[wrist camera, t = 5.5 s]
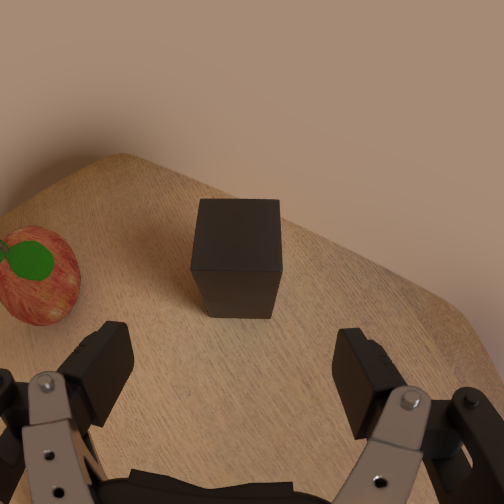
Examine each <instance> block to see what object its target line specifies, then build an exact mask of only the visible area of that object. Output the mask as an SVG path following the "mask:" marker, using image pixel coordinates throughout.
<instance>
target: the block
mask: <svg viewBox="0 0 504 504" xmlns="http://www.w3.org/2000/svg"><path fill="white" fill-rule="evenodd" d="M190 270H191V272H192V275H193V277H194V280H195V282H196V285H197V287H198V290H199V292H200V294H201V297H202V299H203V302H204V304H205V306H206V309H207V311H208V313H209V316H210V317H213V318H247V319H271V316H272V312H273V308H274V304H275V300H276V296H277V292H278V288H279V284H280V280H281V276H282V272H283V264H282V241H281V220H280V202H279V200H275V199H200V202H199V209H198V216H197V222H196V229H195V237H194V244H193V252H192V259H191V268H190Z"/></svg>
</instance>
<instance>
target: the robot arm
mask: <svg viewBox="0 0 504 504" xmlns="http://www.w3.org/2000/svg"><path fill="white" fill-rule="evenodd" d="M133 367H134V354H133V349H132V345H131V340H130V335H129V331H128V327H127V324H126V323H124V322H116V321H106V322H105V323H104V324H103V325H102V327H101V328H100V329H99V330H98V331H95V332H93V333H92V334H90V335H88V336H87V337H85V338H84V339H83V340H82V342H81V343H80V344H79V346H77V347H76V348H75V350H74V352H72V353H71V354H70V355H69V357H68V358H67V359H66V360H65V361H64V362H63V364H62V365H61V366H60V367H59V368H58V370H57V371H56V372H55V371H45V372H41V373H39V374H37V375H35V376H34V377H33V378H32V379H31V380H30V382H29V383H24V382H15V380H14V378H13V376H12V374H11V372H10V371H9V370H7V369H0V416H1V418H2V420H3V421H4V423H5V424H6V426H7V427H6V429H5V430H4V432H3V433H2V435H1V436H0V504H9V502H10V500H11V498H12V495H13V493H14V491H15V489H16V487H17V484H18V482H19V480H20V478H21V476H22V474H23V472H24V470H25V468H26V471H27V477H28V483H29V488H30V493H31V498H32V502H33V504H406V502H407V500H408V497H409V495H410V492H411V490H412V487H413V484H414V482H415V479H416V476H417V473H418V470H419V467H420V464H421V461H422V460H423V462H424V465H425V467H426V470H427V472H428V475H429V477H430V480H431V482H432V485H433V488H434V490H435V493H436V496H437V498H438V501H439V504H504V421H503V419H502V418H501V416H500V415H499V414H498V412H497V411H496V409H495V408H494V407H493V405H492V404H491V403H490V401H489V400H488V399H487V397H486V396H485V395H484V394H483V393H482V392H481V391H479V390H477V389H475V388H472V387H462V388H459V389H458V390H456V391H455V393H454V395H453V397H452V399H451V400H431V399H430V397H429V395H428V394H427V393H426V392H425V391H423V390H422V389H420V388H418V387H414V386H408V385H407V384H406V382H405V381H404V379H403V377H402V376H401V374H400V373H399V371H398V370H397V368H396V367H395V365H394V364H393V363H392V361H391V359H390V358H389V356H387V353H386V352H385V350H384V349H383V347H382V346H381V345H379V344H378V343H376V342H375V341H374V340H367V339H366V337H365V335H364V334H363V332H362V331H361V329H360V328H345V329H339V331H338V334H337V340H336V345H335V351H334V356H333V361H332V376H333V379H334V382H335V385H336V387H337V390H338V393H339V396H340V399H341V401H342V404H343V407H344V410H345V413H346V416H347V418H348V421H349V424H350V427H351V430H352V433H353V436H354V439H355V440H358V439H364V438H366V439H367V444H366V446H365V448H364V450H363V452H362V453H361V455H360V457H359V459H358V461H357V462H356V464H355V466H354V468H353V469H352V471H351V473H350V475H349V476H348V478H347V480H346V481H345V483H344V484H343V486H342V488H341V489H340V491H339V492H338V494H337V495H336V497H335V498H334V500H333V501H332V503H331V502H329V501H327V500H325V499H322V498H320V497H317V496H314V495H311V494H307V493H303V492H297V491H293V482H275V483H248V484H243V485H237V486H231V487H224V488H216V489H205V488H202V487H198V486H195V485H192V484H189V483H186V482H183V481H181V480H178V479H175V478H172V477H170V476H166V475H160V474H155V473H149V472H145V471H140V470H135V469H131V472H130V475H129V478H116V479H110V480H109V479H108V478H107V476H106V474H105V472H104V470H103V467H102V465H101V462H100V460H99V457H98V454H97V452H96V449H95V446H94V443H93V440H92V437H91V434H90V432H89V430H88V429H89V427H90V425H91V424H92V425H95V426H99V427H103V426H104V424H105V422H106V420H107V418H108V416H109V414H110V412H111V410H112V408H113V406H114V404H115V402H116V400H117V398H118V397H119V395H120V393H121V391H122V389H123V387H124V385H125V383H126V381H127V380H128V378H129V376H130V374H131V372H132V370H133ZM463 444H464V445H465V447H466V449H467V450H468V452H469V454H470V456H471V458H472V461H473V467H472V468H471V466H470V464H469V462H468V460H467V458H466V456H465V454H464V452H463V450H462V448H461V447H462V446H463Z"/></svg>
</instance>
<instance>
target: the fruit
mask: <svg viewBox="0 0 504 504" xmlns="http://www.w3.org/2000/svg"><path fill="white" fill-rule="evenodd" d="M80 280H81V277H80V272H79V267H78V262H77V259H76V257H75V255H74V253H73V251H72V249H71V247H70V246H69V245H68V243H67V242H66V241H65V240H64V239H63V238H62V237H60V236H59V235H58V234H57V233H55V232H53V231H51V230H48V229H45V228H42V227H37V226H30V227H25V228H21V229H18V230H16V231H14V232H13V233H12V234H10V235H9V236H7V238H6V239H5V240H4V241H2V240H0V301H1V302H2V304H3V305H4V306H5V307H6V309H7V310H8V311H9V312H10V314H11V315H12V316H14V317H15V318H17V319H19V320H20V321H22V322H24V323H27V324H30V325H34V326H48V325H51V324H53V323H56V322H59V321H60V320H61V319H62V318H63V317H65V316H66V315H67V314H68V313H69V312H70V311H71V309H72V307H73V305H74V304H75V302H76V300H77V298H78V294H79V290H80Z"/></svg>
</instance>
